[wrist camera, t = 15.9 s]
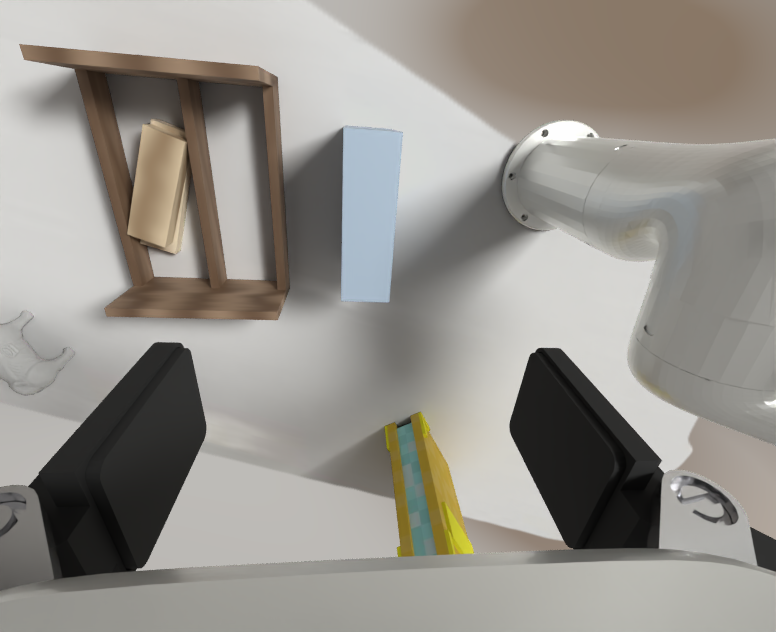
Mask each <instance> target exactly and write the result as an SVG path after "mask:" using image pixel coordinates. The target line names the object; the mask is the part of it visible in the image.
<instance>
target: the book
mask: <svg viewBox="0 0 776 632" xmlns="http://www.w3.org/2000/svg"><path fill="white" fill-rule="evenodd" d="M410 417H411V423H409V424H407V425H404V426H402V427H399V428H398V427H397V425H396V423H395V422H394V423H392V424H389V425H387V426H385V435H386V445H387V450H388V451H389V452H390V456H391V465H392V474H393V484H394V493H395V501H396V510H397V520H398V528H399V538H400V546H399V547H397V552H398V557H409V556H430V555H452V554H474V552H473V548H472V544H471V543H470V541H469V540H468V537H467V533H466V530H465V526H464V522H463V518H462V515H461V511H460V507H459V504H458V500H457V496H456V493H455V489H454V485H453V482H452V478H451V475H450V471H449V467H448V464H447V462H446V461H445V459H444V457H443V455H442V454H441V452H440V450H439V449H438V447H437V445H436V443H435V442H434V440H433V438H432V436H431V435H430V433H429V431H430V428H429V426H428V424H427V422H426V420H425V418H424V417H423V415H422V413H421V412H419V413H416V414H414V415H411V416H410Z"/></svg>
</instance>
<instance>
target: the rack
mask: <svg viewBox="0 0 776 632" xmlns="http://www.w3.org/2000/svg"><path fill="white" fill-rule="evenodd" d="M19 45H20V48H21V51H22V54H23V57H24V60H28V61H34V62H39V63H45V64H50V65H56V66H61V67H67V68H72V69H75V72H76V76H77V79H78V83H79V87H80V90H81V94H82V98H83V101H84V105H85V109H86V112H87V116H88V120H89V123H90V127H91V131H92V135H93V138H94V142H95V146H96V149H97V153H98V157H99V160H100V164H101V168H102V171H103V175H104V179H105V182H106V186H107V190H108V193H109V197H110V201H111V204H112V208H113V212H114V215H115V219H116V223H117V227H118V230H119V234H120V238H121V241H122V245H123V249H124V252H125V256H126V260H127V263H128V267H129V271H130V274H131V278H132V282H133V285H134V286H133V287H132V288H130V289H129V290H128V291H126V292H125V293H124V294H122V295H121V296H120V297H118V298H117V299H116V300H114V301H113V302H112V303H110V304H109V305H108V306H106V307H105V308H104V309H105V312H106V315H107V316H108V317H155V318H202V319H249V320H278V318H279V316H280V313H281V310H282V308H283V305H284V302H285V300H286V297H287V294H288V292H289V289H290V282H289V265H288V248H287V231H286V214H285V197H284V180H283V162H282V145H281V128H280V111H279V94H278V77H276V76H275V75H273V74H271V73H269V72H267V71H266V70H264V69H262V68H260V67H258V66H250V65H240V64H229V63H218V62H207V61H196V60H185V59H174V58H163V57H153V56H142V55H131V54H120V53H109V52H98V51H87V50H76V49H66V48H55V47H44V46H33V45H22V44H19ZM105 73H106V74H118V75H129V76H141V77H152V78H164V79H176V80H177V85H178V91H179V97H180V103H181V109H182V115H183V121H184V127H185V133H186V139H187V145H188V151H189V157H190V163H191V169H192V175H193V181H194V187H195V193H196V199H197V205H198V211H199V217H200V223H201V229H202V235H203V241H204V247H205V253H206V259H207V265H208V271H209V277H210V279H204V278H173V277H154V274H153V270H152V266H151V262H150V257H149V253H148V249H147V245H144V244H140V239H139V238H136V237H133V236H130V235H128V234H127V232H128V225H129V218H130V211H131V204H132V197H133V187H132V183H131V179H130V174H129V170H128V166H127V162H126V158H125V154H124V149H123V145H122V141H121V137H120V133H119V129H118V125H117V120H116V116H115V112H114V108H113V104H112V100H111V95H110V91H109V87H108V83H107V79H106V75H105ZM199 82H210V83H222V84H234V85H245V86H257V87H262V88H263V102H264V115H265V128H266V141H267V155H268V168H269V181H270V195H271V208H272V221H273V234H274V248H275V261H276V274H277V281H266V280H235V279H227V275H226V268H225V261H224V254H223V247H222V240H221V233H220V226H219V219H218V212H217V205H216V198H215V191H214V184H213V177H212V170H211V163H210V156H209V149H208V142H207V135H206V128H205V121H204V114H203V107H202V100H201V93H200V86H199Z"/></svg>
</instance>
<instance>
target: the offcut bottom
mask: <svg viewBox="0 0 776 632" xmlns="http://www.w3.org/2000/svg"><path fill="white" fill-rule="evenodd" d="M150 124H153V125H155V126H158V127H160V128H162V129H165V130H167V131H169V132H172V133H174V134H176V135H179V136H181V137H183V138H186V133H185V129H182V128H180V127H177V126H174V125H172V124H169V123H166V122H164V121H161V120H158V119H151V121H150ZM191 172H192V169H191V163H190V158H189V163H188V168H187V173H186V178H185V183H184V188H183V193H182V198H181V203H180V208H179V213H178V218H177V224H176V229H175V234H174V239H173V243H172V244H170V245H169V246H167V247H165V248H164V247H162V246H159V245H156V244H153V243H150V242H147V241H145V240H142V239H140V244H144V245H147V246H150V247H154V248H157V249H160V250H164V251H167V252H170V253H173V254H177V253H178V252H179V251H181V245H182V238H183V231H184V223H185V216H186V209H187V201H188V194H189V187H190V179H191Z"/></svg>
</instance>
